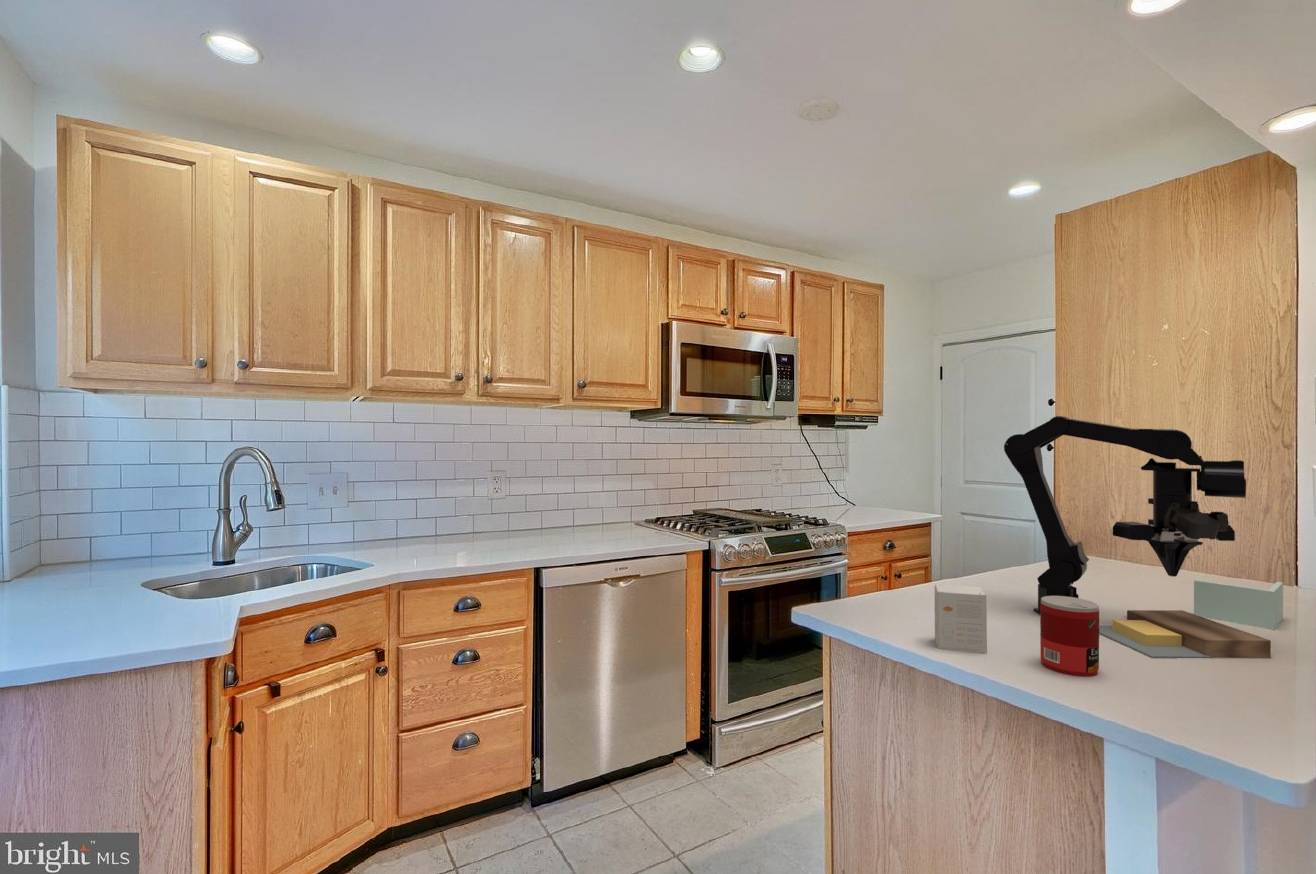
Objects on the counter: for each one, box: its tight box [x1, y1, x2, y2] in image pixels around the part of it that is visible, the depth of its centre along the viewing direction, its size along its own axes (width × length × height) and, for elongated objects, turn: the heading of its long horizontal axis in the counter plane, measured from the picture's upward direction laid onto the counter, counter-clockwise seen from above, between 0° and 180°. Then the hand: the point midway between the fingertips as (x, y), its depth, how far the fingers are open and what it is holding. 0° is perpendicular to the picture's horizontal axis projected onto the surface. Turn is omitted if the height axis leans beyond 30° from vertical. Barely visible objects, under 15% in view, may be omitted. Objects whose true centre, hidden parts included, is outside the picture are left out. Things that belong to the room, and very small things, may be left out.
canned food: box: [1039, 596, 1100, 677], centre depth 101 cm, size 8×8×11 cm
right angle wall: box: [1193, 579, 1284, 631], centre depth 129 cm, size 12×12×8 cm
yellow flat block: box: [1111, 619, 1182, 647], centre depth 115 cm, size 6×9×2 cm, turn 177°
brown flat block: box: [1126, 609, 1272, 659], centre depth 115 cm, size 11×18×3 cm, turn 179°
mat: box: [1099, 625, 1212, 659], centre depth 114 cm, size 10×17×1 cm, turn 179°
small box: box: [934, 584, 988, 654], centre depth 111 cm, size 8×6×10 cm
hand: (1172, 576), depth 118 cm, fingers closed
